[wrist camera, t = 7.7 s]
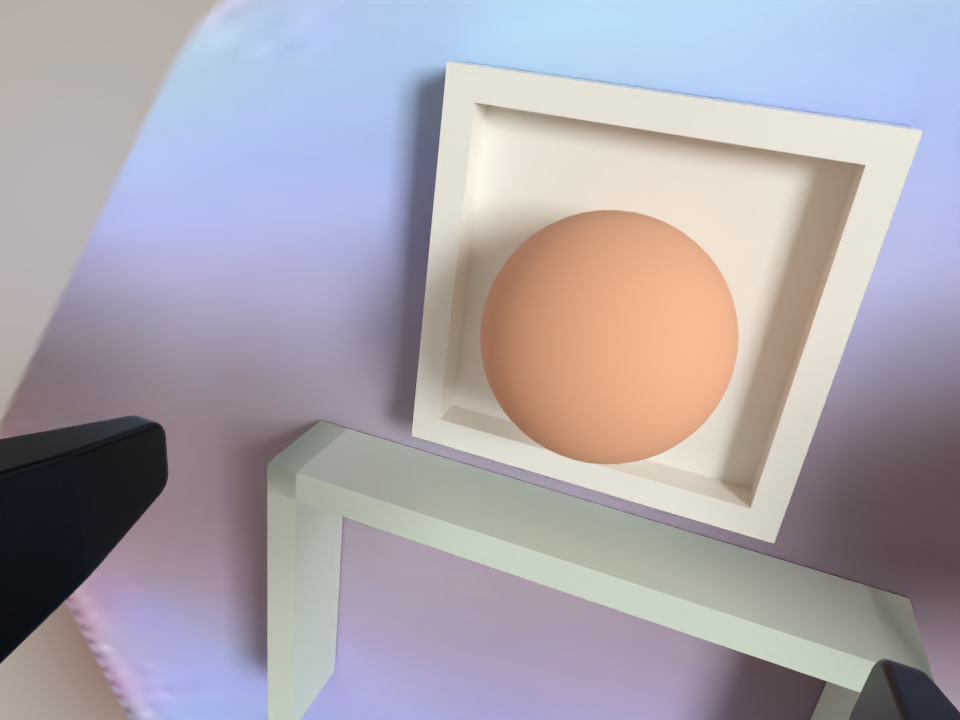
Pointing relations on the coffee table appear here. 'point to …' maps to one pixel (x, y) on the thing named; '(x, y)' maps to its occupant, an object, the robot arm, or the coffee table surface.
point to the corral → (551, 567)
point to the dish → (697, 213)
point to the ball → (609, 337)
